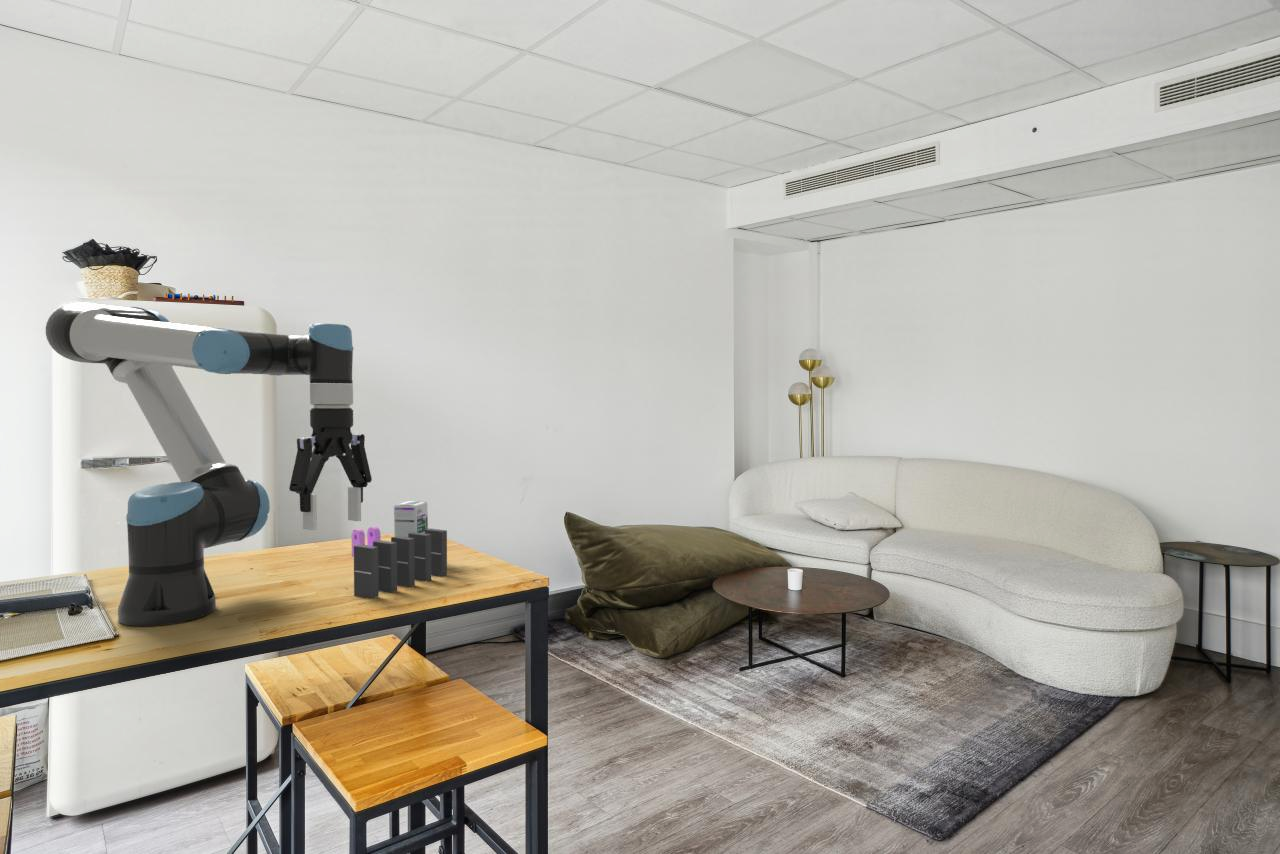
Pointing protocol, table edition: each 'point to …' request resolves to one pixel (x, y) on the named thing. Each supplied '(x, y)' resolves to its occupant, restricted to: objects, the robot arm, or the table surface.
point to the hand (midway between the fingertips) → (332, 524)
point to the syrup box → (410, 518)
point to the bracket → (359, 537)
